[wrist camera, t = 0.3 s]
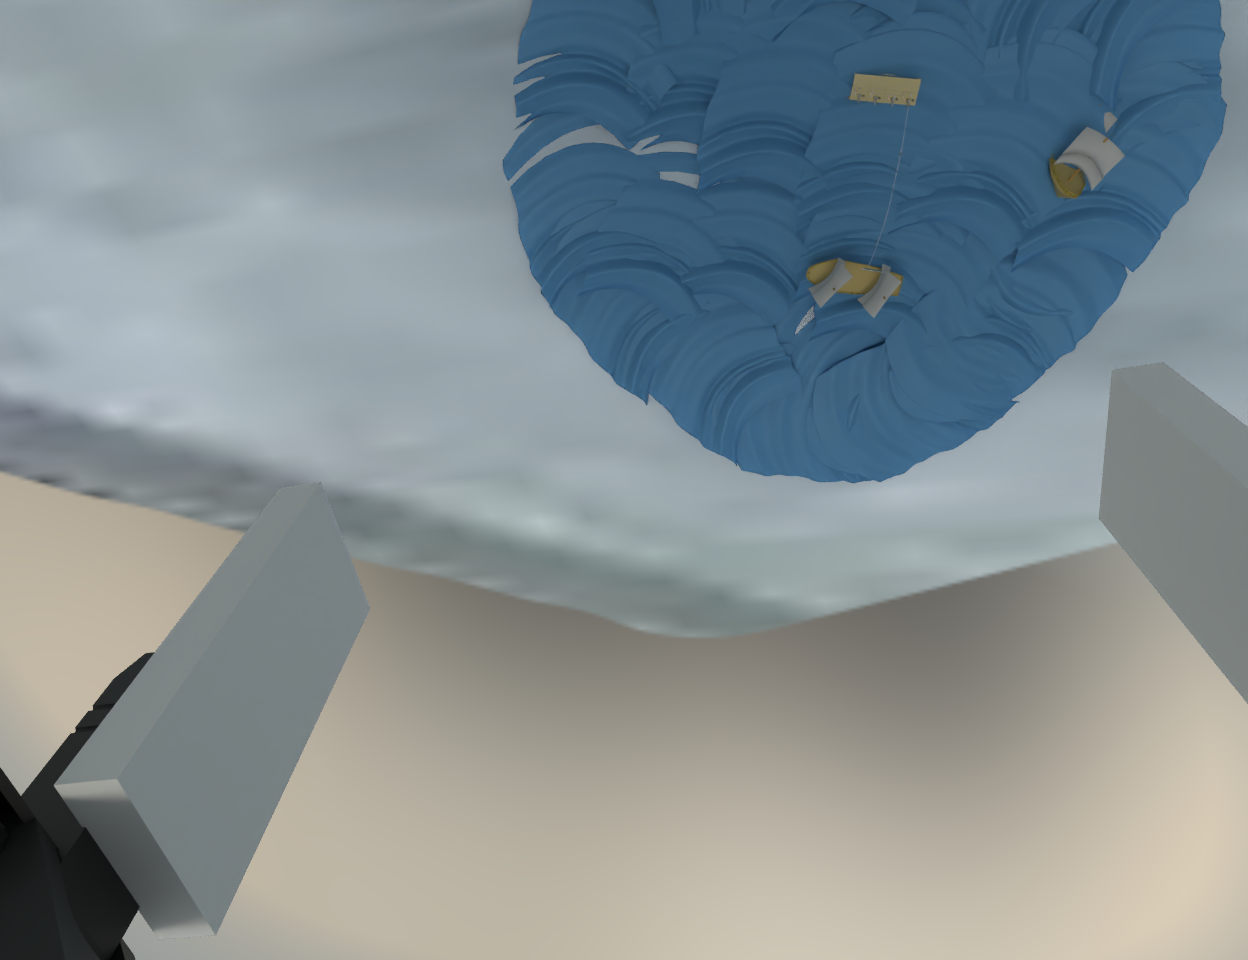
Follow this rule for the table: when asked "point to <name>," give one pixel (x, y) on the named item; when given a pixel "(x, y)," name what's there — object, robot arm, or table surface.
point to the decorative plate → (853, 203)
